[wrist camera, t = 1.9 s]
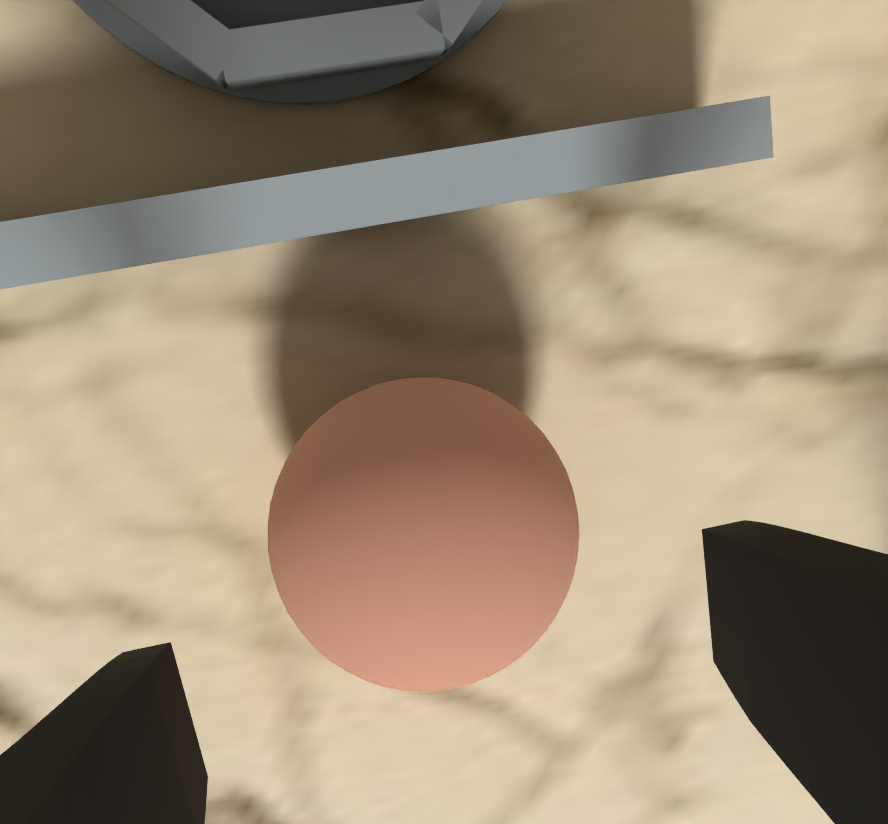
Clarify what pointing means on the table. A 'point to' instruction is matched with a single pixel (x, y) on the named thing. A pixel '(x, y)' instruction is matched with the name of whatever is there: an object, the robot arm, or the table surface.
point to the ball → (423, 534)
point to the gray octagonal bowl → (293, 42)
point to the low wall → (380, 192)
